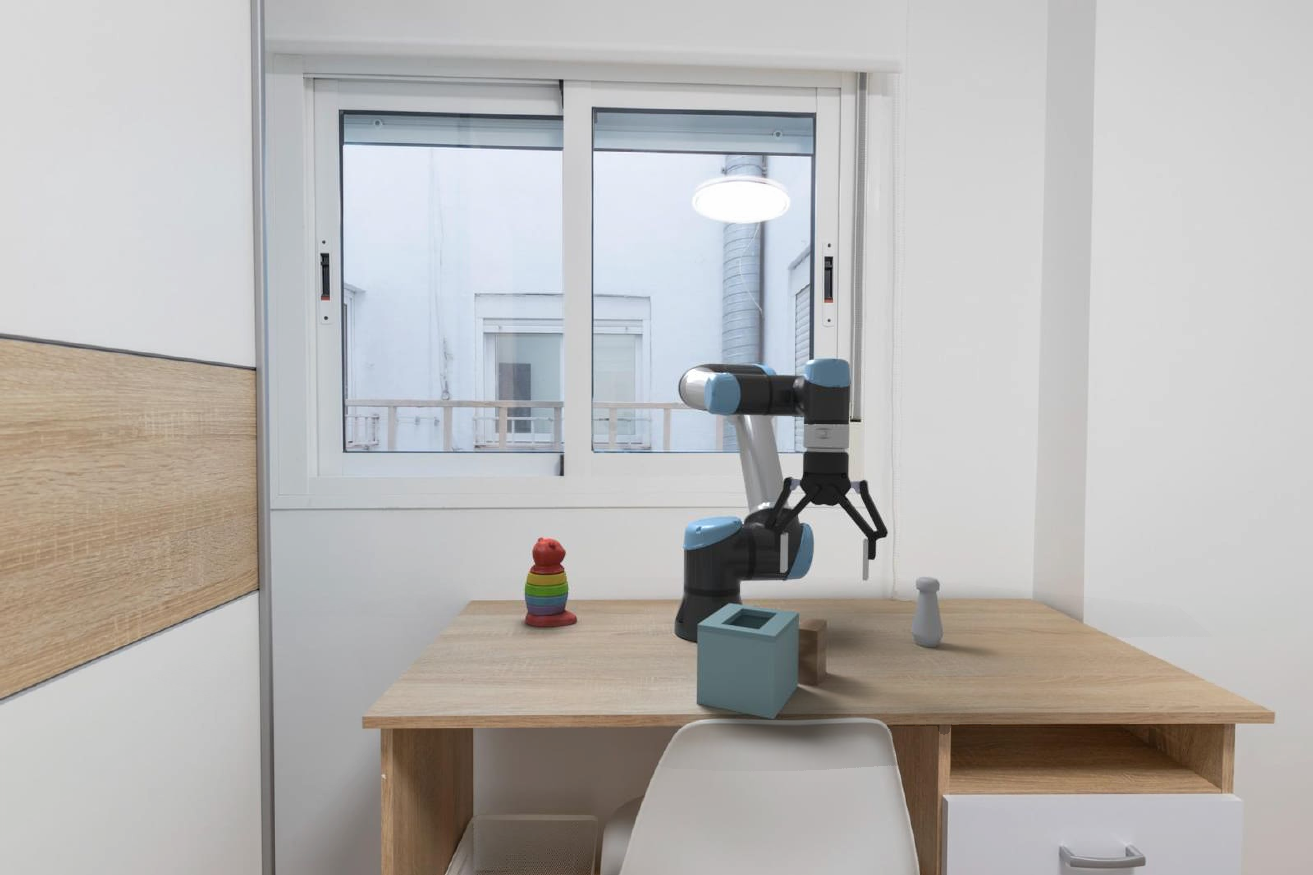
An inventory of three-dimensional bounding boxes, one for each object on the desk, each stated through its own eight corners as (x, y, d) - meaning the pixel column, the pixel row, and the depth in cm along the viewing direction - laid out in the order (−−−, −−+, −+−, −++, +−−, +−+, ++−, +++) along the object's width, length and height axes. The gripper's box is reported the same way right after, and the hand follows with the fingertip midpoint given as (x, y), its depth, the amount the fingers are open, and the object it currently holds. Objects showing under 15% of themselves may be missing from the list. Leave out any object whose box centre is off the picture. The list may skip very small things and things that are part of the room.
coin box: (696, 703, 100) (697, 624, 100) (728, 673, 112) (729, 603, 112) (773, 719, 95) (774, 636, 95) (797, 686, 107) (798, 612, 107)
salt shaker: (945, 649, 126) (946, 582, 126) (914, 647, 127) (915, 580, 127) (938, 640, 132) (940, 575, 132) (908, 638, 133) (909, 574, 133)
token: (795, 682, 109) (796, 628, 109) (805, 668, 115) (806, 617, 115) (816, 686, 107) (817, 631, 107) (825, 672, 114) (826, 620, 114)
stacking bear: (580, 623, 141) (581, 540, 141) (536, 630, 135) (537, 544, 135) (558, 611, 150) (559, 533, 150) (516, 617, 144) (517, 536, 144)
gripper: (748, 449, 113) (746, 572, 113) (903, 453, 104) (901, 587, 104) (758, 448, 120) (756, 564, 120) (904, 451, 111) (902, 577, 111)
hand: (823, 575), depth 112 cm, fingers open, 13 cm apart
